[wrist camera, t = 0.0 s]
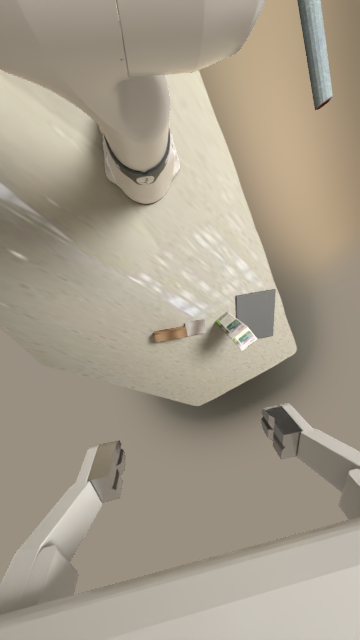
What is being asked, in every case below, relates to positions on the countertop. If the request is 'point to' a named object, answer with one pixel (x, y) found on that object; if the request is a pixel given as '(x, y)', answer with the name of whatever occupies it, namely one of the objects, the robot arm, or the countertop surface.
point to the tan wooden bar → (181, 331)
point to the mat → (257, 312)
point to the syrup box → (236, 331)
